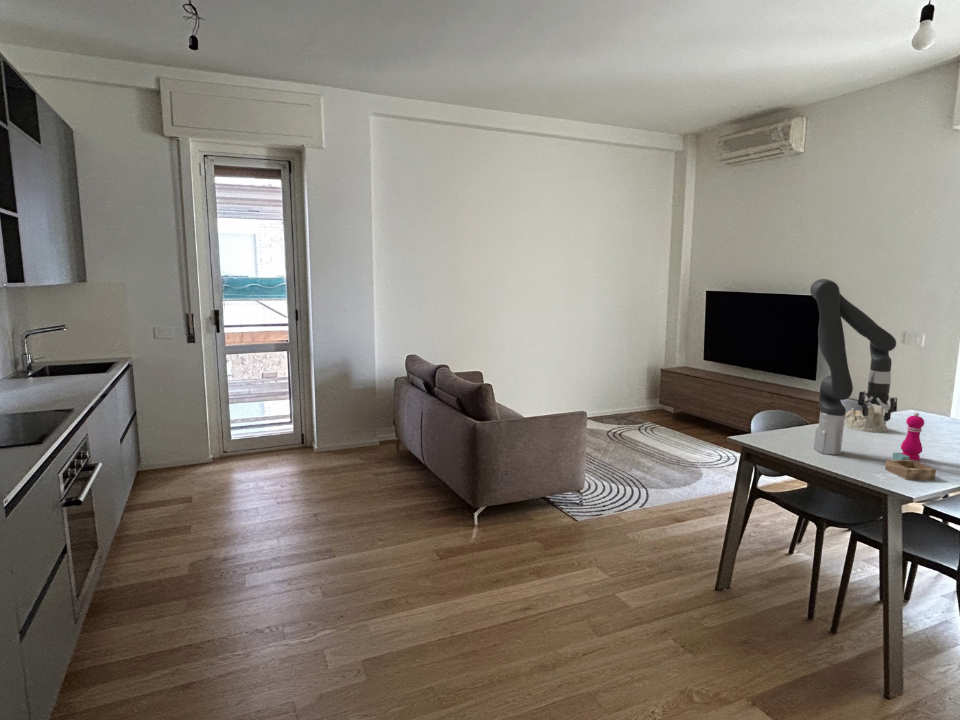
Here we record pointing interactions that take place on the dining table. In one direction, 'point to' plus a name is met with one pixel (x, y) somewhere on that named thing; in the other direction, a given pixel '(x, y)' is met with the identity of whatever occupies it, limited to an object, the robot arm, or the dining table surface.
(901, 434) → the dining table surface
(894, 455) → the teal block
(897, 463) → the wooden tray
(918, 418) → the pepper mill
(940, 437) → the dining table surface
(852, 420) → the cream rough lump
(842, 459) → the dining table surface
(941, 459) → the dining table surface
